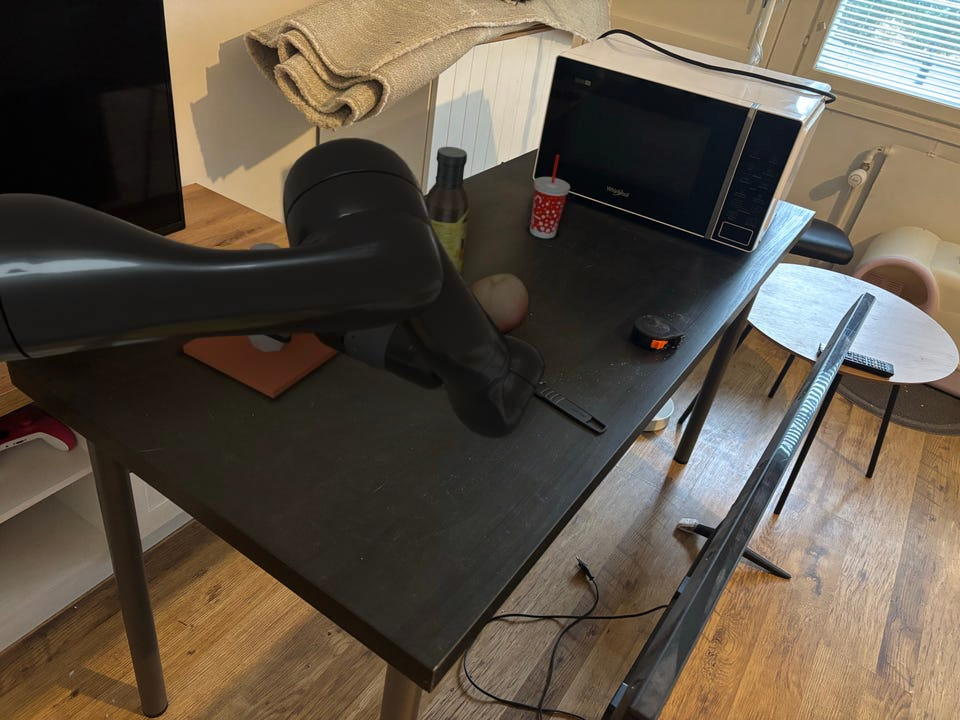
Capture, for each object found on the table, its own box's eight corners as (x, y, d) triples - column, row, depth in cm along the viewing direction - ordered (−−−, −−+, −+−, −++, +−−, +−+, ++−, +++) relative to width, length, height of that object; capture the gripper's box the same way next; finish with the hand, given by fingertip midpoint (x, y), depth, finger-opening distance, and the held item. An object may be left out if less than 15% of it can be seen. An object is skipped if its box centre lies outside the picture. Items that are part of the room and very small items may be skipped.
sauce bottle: (464, 290, 109) (482, 161, 98) (424, 292, 107) (437, 160, 96) (452, 269, 114) (468, 143, 103) (413, 270, 112) (424, 142, 101)
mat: (273, 398, 84) (272, 391, 83) (183, 352, 89) (182, 345, 88) (349, 344, 94) (349, 338, 94) (265, 305, 99) (265, 299, 98)
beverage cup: (525, 222, 131) (539, 146, 123) (559, 227, 132) (575, 151, 124) (525, 237, 126) (540, 159, 118) (560, 242, 127) (577, 164, 119)
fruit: (485, 305, 106) (492, 256, 102) (532, 327, 103) (542, 277, 99) (453, 327, 101) (460, 276, 96) (502, 351, 98) (512, 299, 93)
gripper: (407, 274, 84) (297, 229, 90) (328, 326, 74) (207, 271, 79) (403, 328, 89) (297, 282, 94) (327, 385, 78) (213, 330, 83)
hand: (256, 277), depth 86 cm, fingers open, 8 cm apart
